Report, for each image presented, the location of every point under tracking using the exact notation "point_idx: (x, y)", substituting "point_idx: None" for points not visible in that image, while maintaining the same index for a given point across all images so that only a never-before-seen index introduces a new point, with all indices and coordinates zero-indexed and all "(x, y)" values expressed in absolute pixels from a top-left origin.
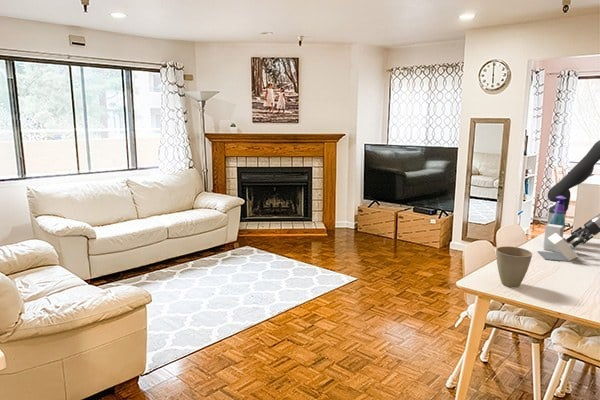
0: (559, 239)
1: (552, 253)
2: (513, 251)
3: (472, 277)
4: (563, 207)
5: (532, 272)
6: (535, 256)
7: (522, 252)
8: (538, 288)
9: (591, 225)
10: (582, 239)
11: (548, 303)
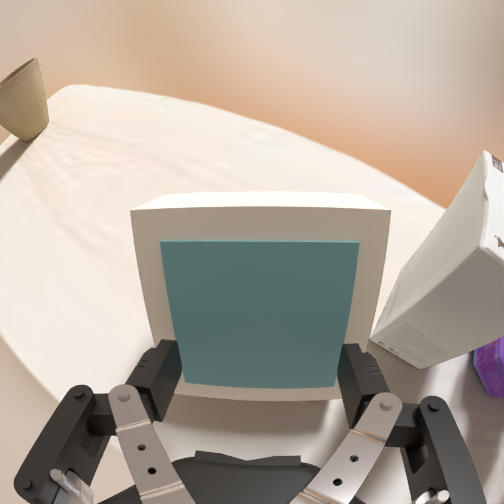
0: (168, 202)
1: None
2: (25, 77)
3: (81, 87)
4: None
5: (68, 161)
6: None
7: (8, 89)
8: (7, 169)
9: None
10: (64, 398)
11: None
